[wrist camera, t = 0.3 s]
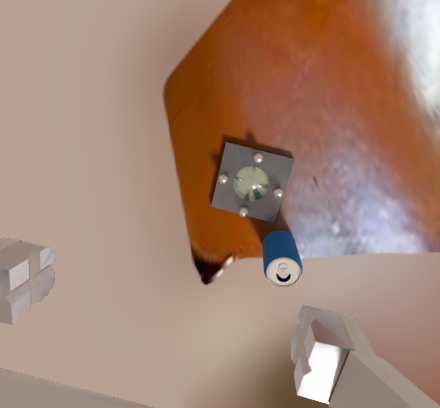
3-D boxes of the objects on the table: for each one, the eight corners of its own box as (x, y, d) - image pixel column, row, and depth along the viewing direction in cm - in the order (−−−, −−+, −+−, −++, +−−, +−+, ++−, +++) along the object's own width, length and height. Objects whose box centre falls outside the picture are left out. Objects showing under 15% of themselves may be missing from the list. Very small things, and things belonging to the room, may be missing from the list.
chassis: (226, 141, 53) (224, 143, 50) (293, 158, 53) (296, 161, 49) (211, 204, 58) (209, 210, 54) (274, 221, 57) (275, 227, 53)
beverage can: (263, 257, 60) (264, 290, 48) (262, 228, 58) (263, 255, 46) (294, 256, 59) (303, 290, 47) (294, 227, 57) (303, 255, 45)
